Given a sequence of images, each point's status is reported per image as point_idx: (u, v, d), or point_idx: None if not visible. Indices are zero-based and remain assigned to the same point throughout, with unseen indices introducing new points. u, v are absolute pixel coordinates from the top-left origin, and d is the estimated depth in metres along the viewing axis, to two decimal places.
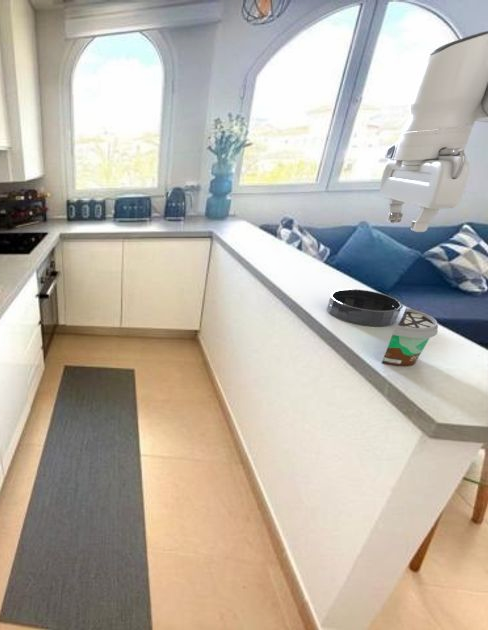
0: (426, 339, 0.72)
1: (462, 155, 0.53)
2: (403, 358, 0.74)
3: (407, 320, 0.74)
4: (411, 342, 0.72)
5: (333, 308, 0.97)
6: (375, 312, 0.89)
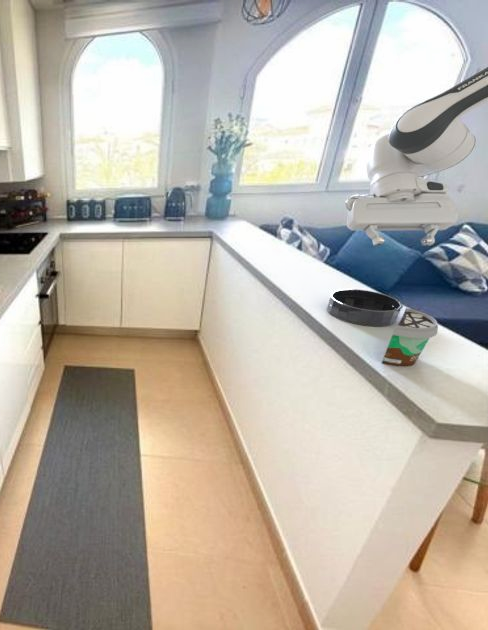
0: (426, 339, 0.72)
1: (347, 199, 0.86)
2: (403, 358, 0.74)
3: (407, 320, 0.74)
4: (411, 342, 0.72)
5: (333, 308, 0.97)
6: (375, 312, 0.89)
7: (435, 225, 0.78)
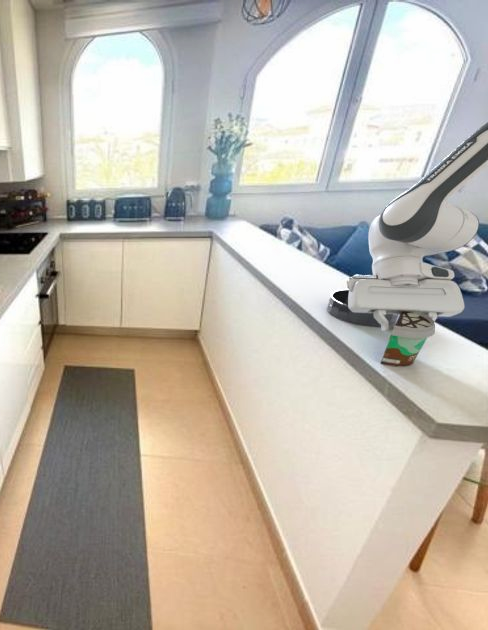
0: (424, 339, 0.72)
1: (348, 279, 0.83)
2: (402, 358, 0.74)
3: (404, 320, 0.74)
4: (410, 342, 0.72)
5: (333, 308, 0.97)
6: None
7: (433, 313, 0.76)
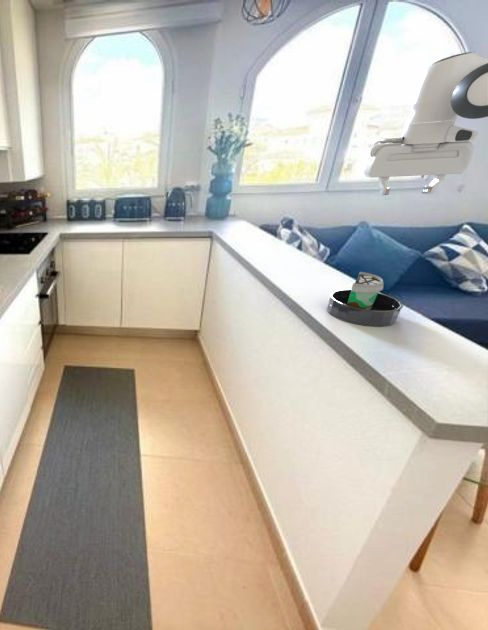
0: (375, 293, 0.92)
1: (375, 143, 0.88)
2: None
3: (361, 280, 0.94)
4: (365, 296, 0.92)
5: (333, 308, 0.97)
6: (375, 312, 0.89)
7: (442, 175, 0.87)
